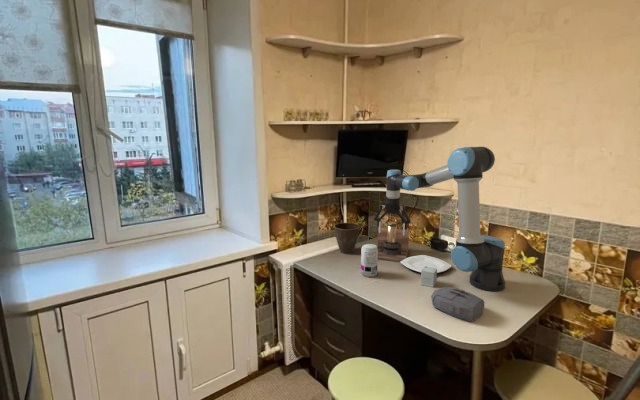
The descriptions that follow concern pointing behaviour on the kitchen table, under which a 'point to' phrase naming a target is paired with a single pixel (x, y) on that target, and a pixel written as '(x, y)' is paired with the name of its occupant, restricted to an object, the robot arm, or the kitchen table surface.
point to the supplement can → (369, 260)
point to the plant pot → (346, 236)
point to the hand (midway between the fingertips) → (391, 233)
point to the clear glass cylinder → (391, 235)
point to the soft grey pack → (458, 303)
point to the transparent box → (393, 246)
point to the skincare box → (428, 276)
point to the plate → (425, 263)
